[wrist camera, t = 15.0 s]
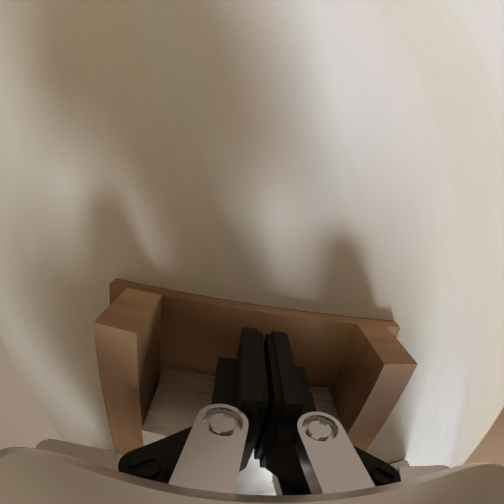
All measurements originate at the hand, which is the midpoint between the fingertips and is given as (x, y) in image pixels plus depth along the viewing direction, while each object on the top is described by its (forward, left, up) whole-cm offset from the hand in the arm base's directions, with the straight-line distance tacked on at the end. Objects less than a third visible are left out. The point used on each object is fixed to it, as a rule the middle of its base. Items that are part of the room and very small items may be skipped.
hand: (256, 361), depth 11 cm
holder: (-8, 0, -2) cm, 8 cm away
